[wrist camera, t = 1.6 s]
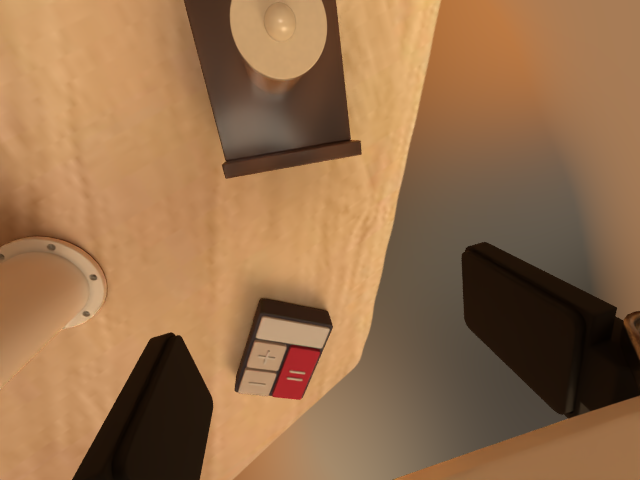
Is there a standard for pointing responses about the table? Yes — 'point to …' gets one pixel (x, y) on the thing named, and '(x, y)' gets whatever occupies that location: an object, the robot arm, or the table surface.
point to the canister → (278, 40)
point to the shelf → (271, 100)
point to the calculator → (282, 350)
